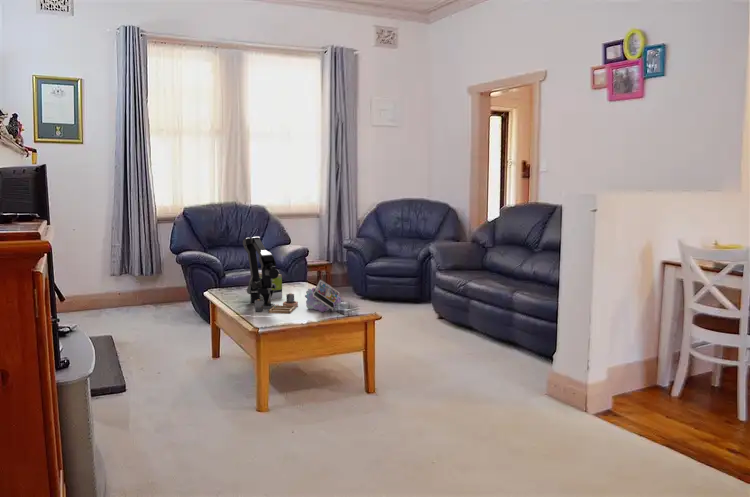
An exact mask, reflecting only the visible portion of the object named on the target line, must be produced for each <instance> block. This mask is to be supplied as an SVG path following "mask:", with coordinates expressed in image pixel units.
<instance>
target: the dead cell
mask: <svg viewBox="0 0 750 497" xmlns="http://www.w3.org/2000/svg"><path fill="white" fill-rule="evenodd" d="M285 295H286V301H287V303H294V301H295V294H294V293H291V292H290V293H286V294H285Z"/></svg>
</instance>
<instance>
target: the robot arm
mask: <svg viewBox="0 0 750 497" xmlns="http://www.w3.org/2000/svg"><path fill="white" fill-rule="evenodd" d="M242 246H243V248H244V251H245V252H246V253H247V257H248V265H249V271H250V278H249V281H248V285H247V289H246V293H247V294H249V295H250V303H251V304H255V300H258V299H260V300H261V297H262V296H263V297H262V300H263V299H264V302H265V304H266V305H267V303H268V300H269V297H270V294H271V297H272V295H273V292H274V290H272V289H271V288H274V289H276V285H275V284H272V280H273V279H275V278H277V277H278V275H279V274H280V273H279V270H278V269H277V268H276V267H277V262H276V260H275V256H274V255H273V254H272V252H270V251H268V250H267V249H266V247H265V245H264V244H263V242H262V240H261V237H260V236H251V237H245V238H244V239H243V240H242ZM257 254H258V257H259V258H258V259H257ZM258 262H259V264H260V269H261V273H262V278H261V277H260V276H259V273H260V271H259V265H258ZM260 294H261V295H262V296H260Z"/></svg>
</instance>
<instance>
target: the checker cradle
mask: <svg viewBox="0 0 750 497" xmlns="http://www.w3.org/2000/svg"><path fill="white" fill-rule="evenodd" d="M275 305H278V306H282V305H279V304H277V303H271V306H263V311H264V310H265V311H266V310H270V309H271V308H272V307H273V306H275ZM274 308H277V306H275V307H274Z"/></svg>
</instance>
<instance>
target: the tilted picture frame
mask: <svg viewBox="0 0 750 497" xmlns="http://www.w3.org/2000/svg"><path fill="white" fill-rule="evenodd" d="M305 293H306V294H304V297H305V298H306V301H305V304H306V306H305V307H306V308H307V309H308V310H311V311H312V310H315V311H317V312H318V311H319V312H321V313H324V312H326V311H330V310H332V311H334V309H338V308H339V307H340V306H341V303H342V298H341V296H340V294H341V293H340V291H338V290H336V289H335V288H334V287H332V286H331V284H328V283H326V281H324V280H322V279H320V280H319V281H318V283H317V285H316V286H315V287H314V286H313V287H312V288H308V290H306V292H305Z"/></svg>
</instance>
